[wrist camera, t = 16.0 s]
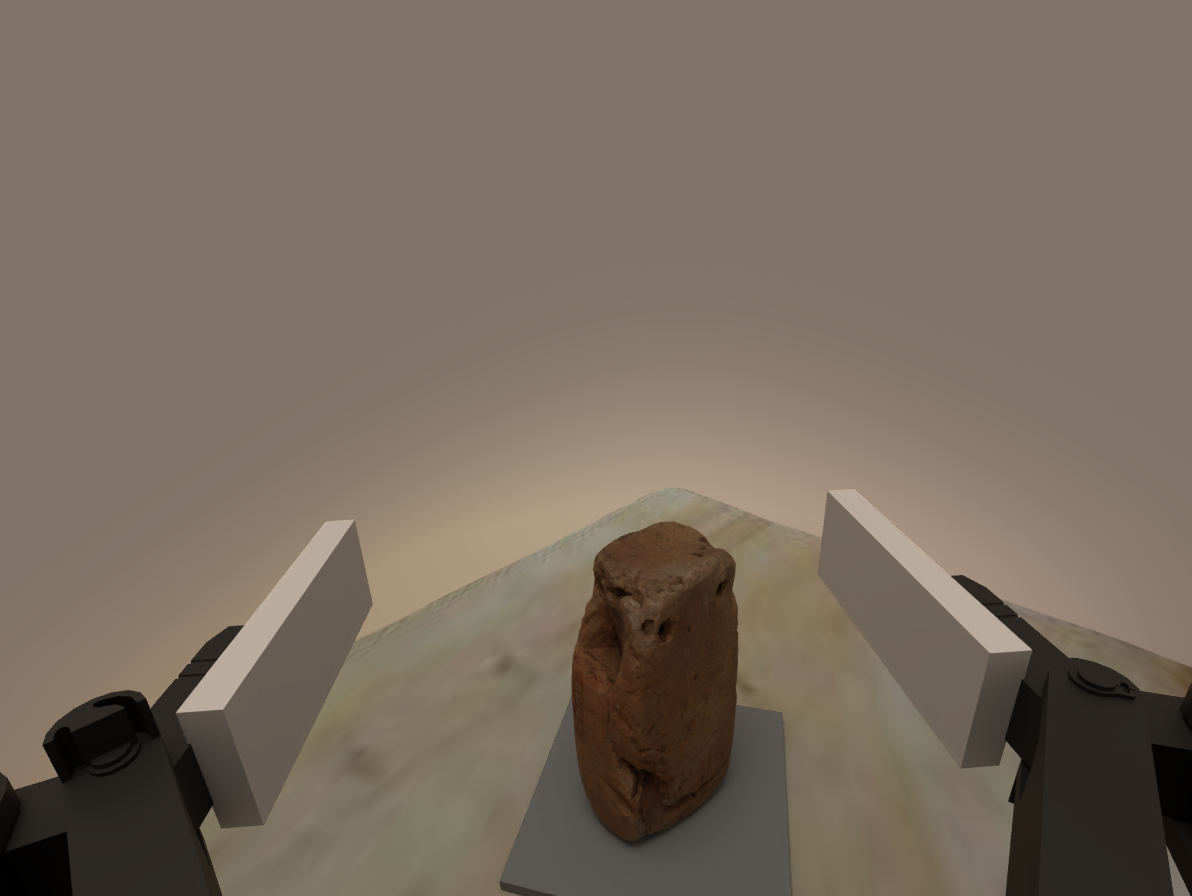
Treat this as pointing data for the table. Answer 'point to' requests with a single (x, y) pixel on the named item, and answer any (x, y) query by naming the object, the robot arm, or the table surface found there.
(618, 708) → the block
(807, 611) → the table surface
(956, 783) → the table surface
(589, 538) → the table surface
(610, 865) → the mat
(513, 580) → the table surface
